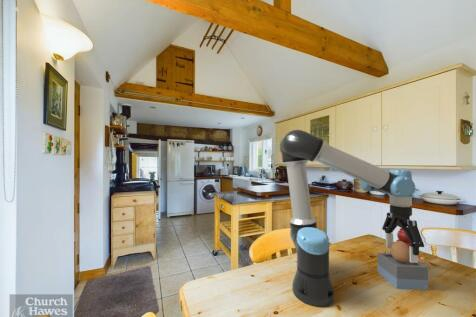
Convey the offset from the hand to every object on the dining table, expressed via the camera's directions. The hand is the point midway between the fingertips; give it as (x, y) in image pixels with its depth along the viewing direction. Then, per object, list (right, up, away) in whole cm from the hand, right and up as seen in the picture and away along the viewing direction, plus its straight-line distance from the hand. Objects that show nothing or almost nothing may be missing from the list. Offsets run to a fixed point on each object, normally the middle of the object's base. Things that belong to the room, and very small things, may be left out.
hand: (400, 254), depth 86 cm
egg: (0, -3, 0) cm, 3 cm away
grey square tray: (0, -11, 0) cm, 11 cm away
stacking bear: (+13, -12, +12) cm, 21 cm away
